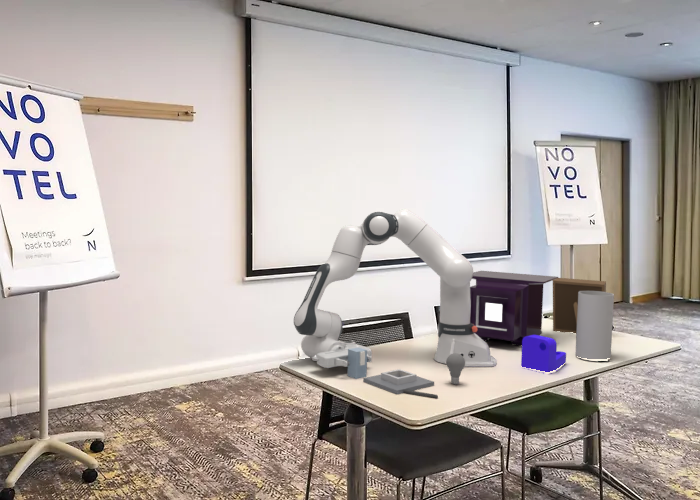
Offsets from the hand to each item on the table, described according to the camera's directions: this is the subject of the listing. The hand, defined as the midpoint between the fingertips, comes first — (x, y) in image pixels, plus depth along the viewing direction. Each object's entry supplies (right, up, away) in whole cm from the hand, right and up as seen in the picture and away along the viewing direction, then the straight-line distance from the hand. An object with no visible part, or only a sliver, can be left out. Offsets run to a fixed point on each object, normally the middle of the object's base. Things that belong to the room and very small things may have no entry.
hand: (359, 361), depth 205 cm
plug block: (-1, -5, +1) cm, 5 cm away
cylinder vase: (+89, -4, +31) cm, 95 cm away
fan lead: (+18, -7, -18) cm, 27 cm away
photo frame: (+98, -1, +72) cm, 122 cm away
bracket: (+68, -5, +18) cm, 71 cm away
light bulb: (+31, -6, -5) cm, 32 cm away
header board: (+13, -6, -6) cm, 15 cm away
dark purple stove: (+62, -2, +59) cm, 86 cm away
